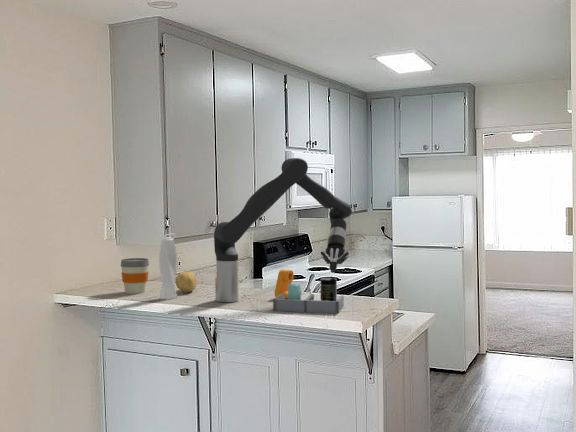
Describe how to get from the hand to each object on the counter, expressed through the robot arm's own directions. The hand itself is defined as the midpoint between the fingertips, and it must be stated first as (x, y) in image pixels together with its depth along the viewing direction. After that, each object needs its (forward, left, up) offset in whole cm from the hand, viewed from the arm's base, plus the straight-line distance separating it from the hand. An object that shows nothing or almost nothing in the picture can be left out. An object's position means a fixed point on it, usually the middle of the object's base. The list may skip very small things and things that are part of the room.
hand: (332, 270), depth 265 cm
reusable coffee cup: (-80, +44, -13) cm, 92 cm away
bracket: (-17, +10, -13) cm, 23 cm away
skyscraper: (-67, +24, -13) cm, 72 cm away
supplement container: (-6, -10, -13) cm, 17 cm away
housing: (-16, -16, -12) cm, 26 cm away
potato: (-57, +38, -13) cm, 69 cm away
